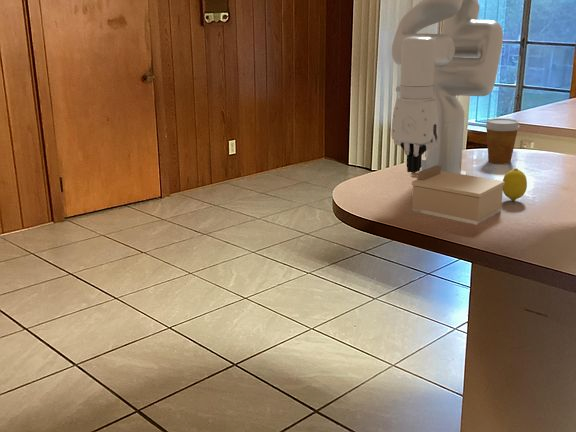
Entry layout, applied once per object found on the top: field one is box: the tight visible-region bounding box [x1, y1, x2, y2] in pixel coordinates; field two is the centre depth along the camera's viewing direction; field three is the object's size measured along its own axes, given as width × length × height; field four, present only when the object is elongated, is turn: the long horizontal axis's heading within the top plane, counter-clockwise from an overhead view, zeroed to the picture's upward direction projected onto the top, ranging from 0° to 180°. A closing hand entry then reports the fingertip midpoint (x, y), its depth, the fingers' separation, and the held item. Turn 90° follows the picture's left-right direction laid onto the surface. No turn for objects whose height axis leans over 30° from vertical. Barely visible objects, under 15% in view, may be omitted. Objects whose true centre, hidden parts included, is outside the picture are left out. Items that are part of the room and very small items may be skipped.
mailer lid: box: [411, 165, 505, 198], centre depth 148 cm, size 16×12×3 cm
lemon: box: [502, 167, 528, 202], centre depth 155 cm, size 6×6×8 cm
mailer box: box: [411, 185, 504, 226], centre depth 149 cm, size 16×12×6 cm
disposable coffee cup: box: [484, 118, 521, 165], centre depth 191 cm, size 10×10×12 cm
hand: (413, 171), depth 155 cm, fingers closed
